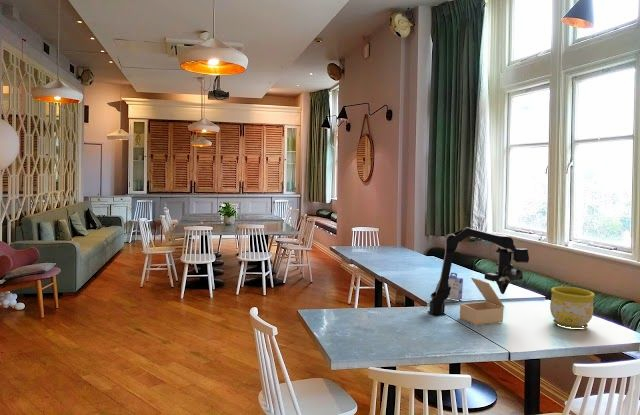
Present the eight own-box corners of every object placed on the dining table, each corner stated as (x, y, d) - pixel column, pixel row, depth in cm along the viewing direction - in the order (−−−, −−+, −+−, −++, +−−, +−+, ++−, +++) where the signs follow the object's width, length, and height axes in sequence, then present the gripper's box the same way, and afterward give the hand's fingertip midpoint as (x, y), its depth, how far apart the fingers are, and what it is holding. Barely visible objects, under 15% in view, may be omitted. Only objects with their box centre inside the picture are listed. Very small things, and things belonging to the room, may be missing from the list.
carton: (475, 325, 226) (476, 310, 226) (459, 318, 237) (460, 303, 236) (502, 322, 232) (503, 307, 231) (485, 315, 243) (486, 301, 242)
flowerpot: (597, 334, 220) (600, 297, 218) (554, 330, 223) (556, 294, 222) (584, 321, 237) (587, 288, 236) (544, 318, 241) (546, 285, 239)
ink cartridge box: (462, 300, 270) (463, 274, 268) (458, 302, 265) (460, 275, 264) (445, 297, 276) (446, 271, 274) (441, 298, 271) (442, 272, 270)
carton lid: (488, 284, 227) (489, 283, 227) (471, 278, 237) (472, 277, 238) (503, 308, 231) (504, 306, 232) (486, 301, 242) (487, 300, 242)
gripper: (501, 266, 226) (499, 299, 227) (532, 264, 233) (530, 296, 234) (484, 261, 236) (482, 293, 237) (515, 259, 243) (512, 291, 244)
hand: (502, 293), depth 238 cm, fingers closed
